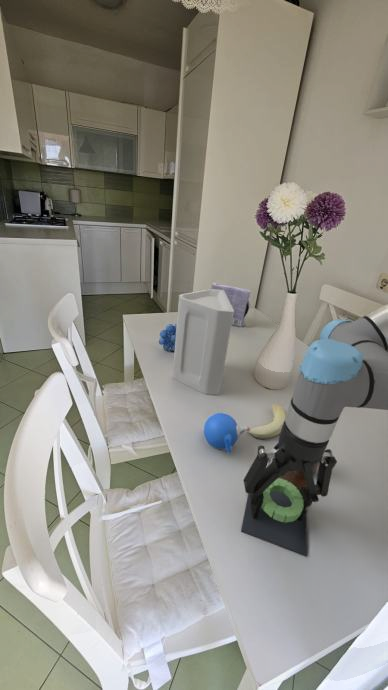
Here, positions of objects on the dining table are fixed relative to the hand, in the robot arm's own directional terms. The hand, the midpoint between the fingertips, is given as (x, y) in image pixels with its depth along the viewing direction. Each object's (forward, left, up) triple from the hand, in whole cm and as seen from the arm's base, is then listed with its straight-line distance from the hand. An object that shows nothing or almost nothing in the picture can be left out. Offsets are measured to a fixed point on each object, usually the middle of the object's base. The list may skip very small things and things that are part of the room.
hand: (275, 512), depth 61 cm
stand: (-5, -13, -1) cm, 14 cm away
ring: (0, 0, +3) cm, 3 cm away
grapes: (+44, -54, -1) cm, 70 cm away
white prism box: (+30, -40, -1) cm, 50 cm away
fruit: (+4, -27, -1) cm, 27 cm away
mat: (0, 0, -1) cm, 1 cm away
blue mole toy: (+14, -15, -1) cm, 21 cm away
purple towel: (+32, -92, -1) cm, 98 cm away
